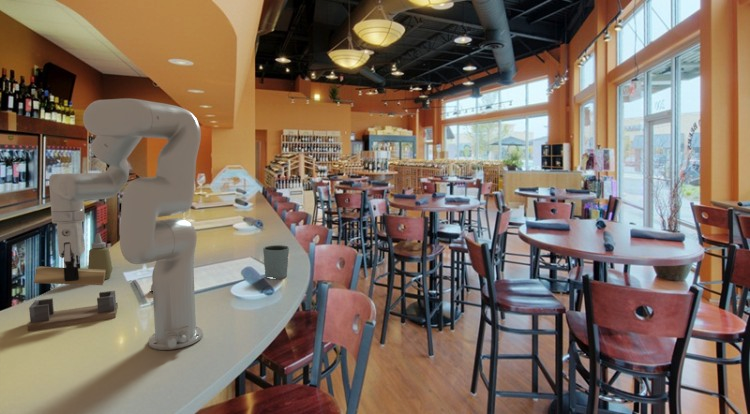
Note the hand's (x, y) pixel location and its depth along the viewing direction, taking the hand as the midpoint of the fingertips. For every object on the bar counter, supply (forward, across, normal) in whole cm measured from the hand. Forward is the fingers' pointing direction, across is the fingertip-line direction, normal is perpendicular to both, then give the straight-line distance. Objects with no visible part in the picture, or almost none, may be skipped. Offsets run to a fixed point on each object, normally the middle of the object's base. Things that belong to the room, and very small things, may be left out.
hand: (72, 278), depth 117 cm
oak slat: (+1, 0, +1) cm, 1 cm away
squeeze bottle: (+12, +45, -2) cm, 47 cm away
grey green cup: (+12, +16, -64) cm, 67 cm away
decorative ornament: (+12, +15, -22) cm, 29 cm away
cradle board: (+12, 0, 0) cm, 12 cm away
